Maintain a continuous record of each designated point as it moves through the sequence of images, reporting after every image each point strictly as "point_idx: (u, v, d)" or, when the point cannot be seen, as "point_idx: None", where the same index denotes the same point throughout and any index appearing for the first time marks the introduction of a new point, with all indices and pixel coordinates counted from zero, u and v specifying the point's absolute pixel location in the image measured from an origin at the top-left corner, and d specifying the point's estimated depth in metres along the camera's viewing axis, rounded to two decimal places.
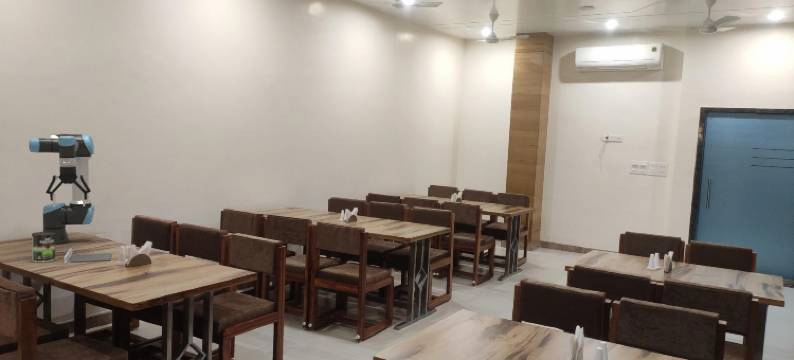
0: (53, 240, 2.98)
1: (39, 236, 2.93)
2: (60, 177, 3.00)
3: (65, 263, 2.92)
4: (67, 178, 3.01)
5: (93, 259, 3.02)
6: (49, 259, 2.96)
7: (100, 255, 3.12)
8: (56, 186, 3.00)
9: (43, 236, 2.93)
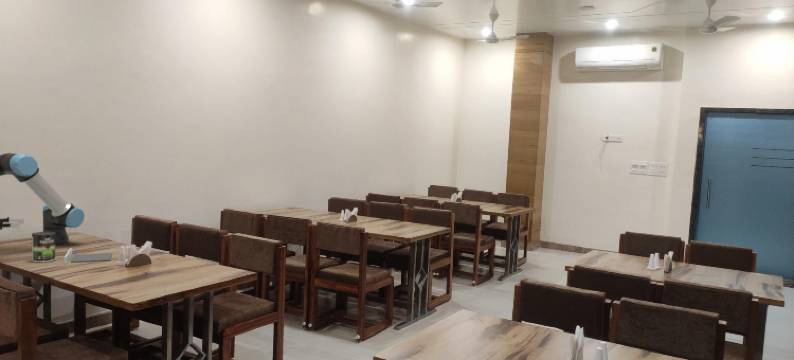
0: (53, 240, 2.98)
1: (39, 236, 2.93)
2: None
3: (65, 263, 2.92)
4: None
5: (93, 259, 3.02)
6: (49, 259, 2.96)
7: (100, 255, 3.12)
8: None
9: (43, 236, 2.93)
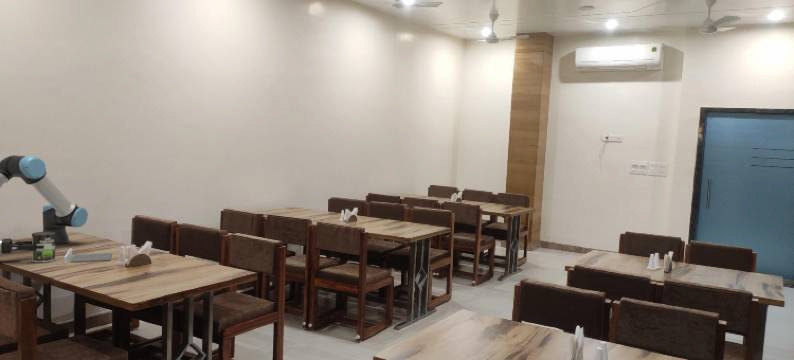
0: (53, 240, 2.98)
1: (39, 236, 2.93)
2: None
3: (65, 263, 2.92)
4: None
5: (93, 259, 3.02)
6: (49, 259, 2.96)
7: (100, 255, 3.12)
8: None
9: (43, 236, 2.93)
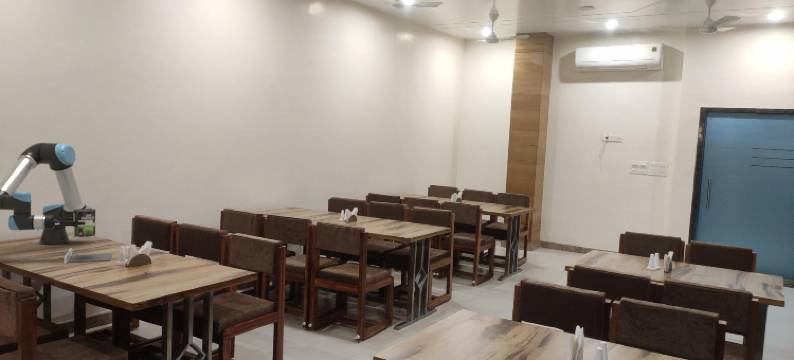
0: (94, 217, 3.04)
1: (80, 212, 2.98)
2: None
3: (65, 263, 2.92)
4: None
5: (93, 259, 3.02)
6: (90, 235, 3.01)
7: (100, 255, 3.12)
8: None
9: (84, 212, 2.99)
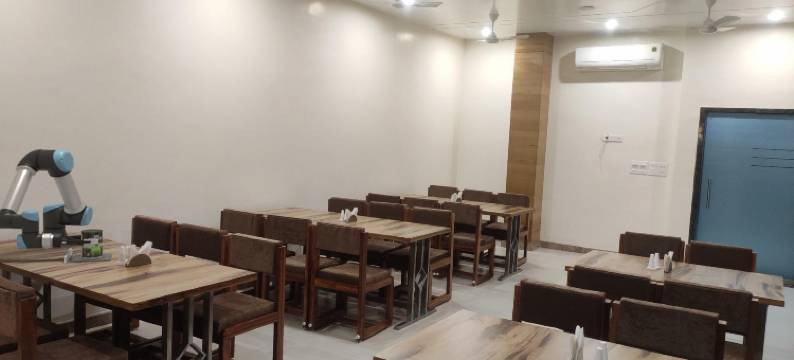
0: (101, 237, 3.07)
1: (88, 233, 3.01)
2: None
3: (65, 263, 2.92)
4: None
5: (93, 259, 3.02)
6: (97, 256, 3.05)
7: None
8: None
9: (92, 233, 3.02)
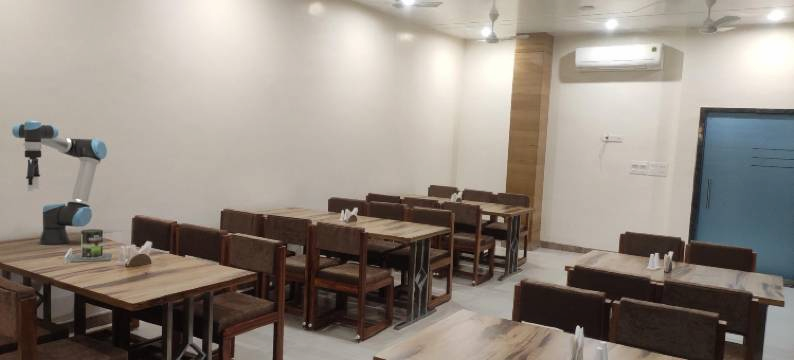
0: (101, 237, 3.07)
1: (88, 233, 3.01)
2: None
3: (65, 263, 2.92)
4: None
5: (93, 259, 3.02)
6: (97, 256, 3.05)
7: None
8: None
9: (92, 233, 3.02)
